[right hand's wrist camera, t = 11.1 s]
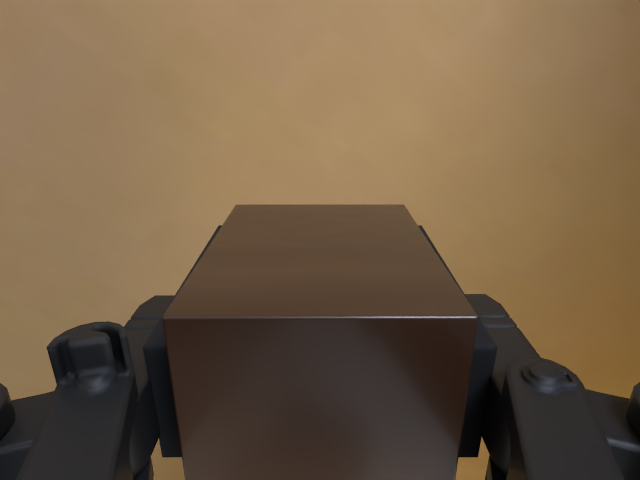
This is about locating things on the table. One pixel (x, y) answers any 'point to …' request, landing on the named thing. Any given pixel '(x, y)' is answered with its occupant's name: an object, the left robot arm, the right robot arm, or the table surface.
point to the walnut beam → (320, 349)
